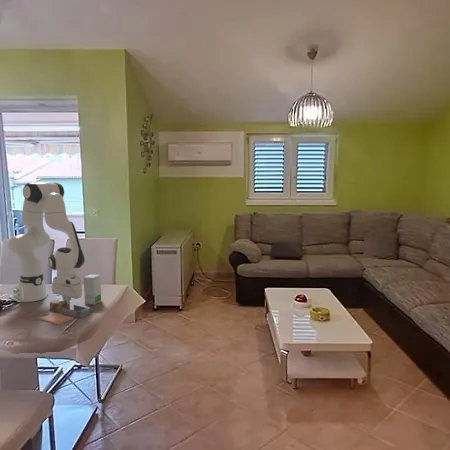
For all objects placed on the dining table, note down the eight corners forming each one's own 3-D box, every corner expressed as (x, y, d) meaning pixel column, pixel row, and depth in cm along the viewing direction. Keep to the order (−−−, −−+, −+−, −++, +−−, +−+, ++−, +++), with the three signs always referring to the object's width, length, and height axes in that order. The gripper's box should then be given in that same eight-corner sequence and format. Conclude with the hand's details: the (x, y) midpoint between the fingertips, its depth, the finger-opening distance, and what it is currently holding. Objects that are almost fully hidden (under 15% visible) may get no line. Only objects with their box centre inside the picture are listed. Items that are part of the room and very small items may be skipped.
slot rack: (61, 314, 218) (61, 308, 218) (75, 309, 226) (75, 303, 225) (77, 318, 212) (77, 312, 211) (91, 313, 219) (91, 307, 219)
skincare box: (94, 305, 233) (93, 277, 231) (83, 304, 234) (82, 277, 232) (101, 300, 241) (100, 274, 239) (91, 299, 242) (90, 273, 240)
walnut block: (50, 309, 225) (49, 299, 225) (58, 306, 230) (57, 297, 229) (62, 312, 220) (61, 302, 220) (70, 309, 224) (69, 300, 224)
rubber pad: (40, 319, 210) (39, 318, 210) (55, 314, 218) (55, 312, 217) (57, 324, 203) (57, 323, 203) (73, 319, 210) (73, 317, 210)
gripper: (48, 277, 223) (49, 302, 225) (73, 282, 212) (74, 308, 214) (58, 274, 228) (59, 299, 230) (83, 279, 218) (84, 305, 219)
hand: (67, 303), depth 222 cm, fingers closed
